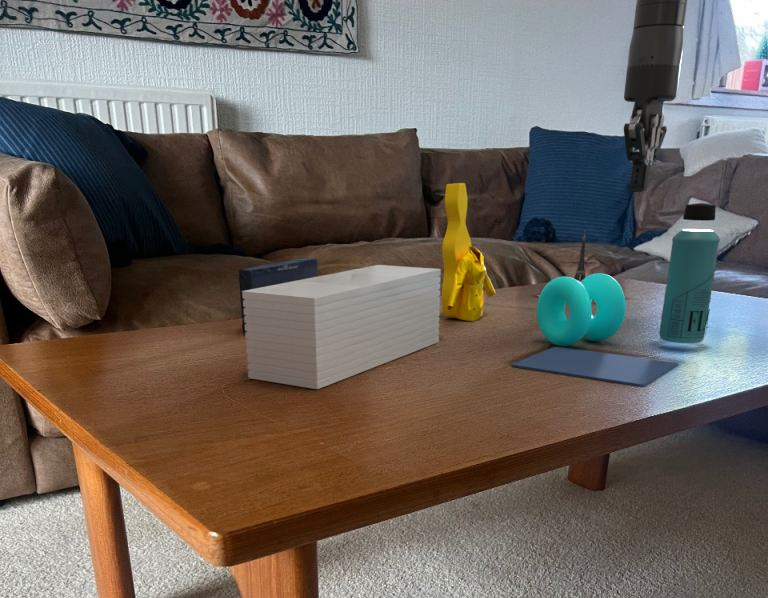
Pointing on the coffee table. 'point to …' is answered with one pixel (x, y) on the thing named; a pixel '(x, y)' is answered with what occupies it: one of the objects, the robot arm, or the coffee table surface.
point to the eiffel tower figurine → (580, 262)
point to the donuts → (581, 309)
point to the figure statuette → (462, 262)
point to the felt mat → (597, 366)
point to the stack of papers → (339, 323)
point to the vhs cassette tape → (275, 276)
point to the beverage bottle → (690, 279)
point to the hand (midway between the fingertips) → (638, 191)
